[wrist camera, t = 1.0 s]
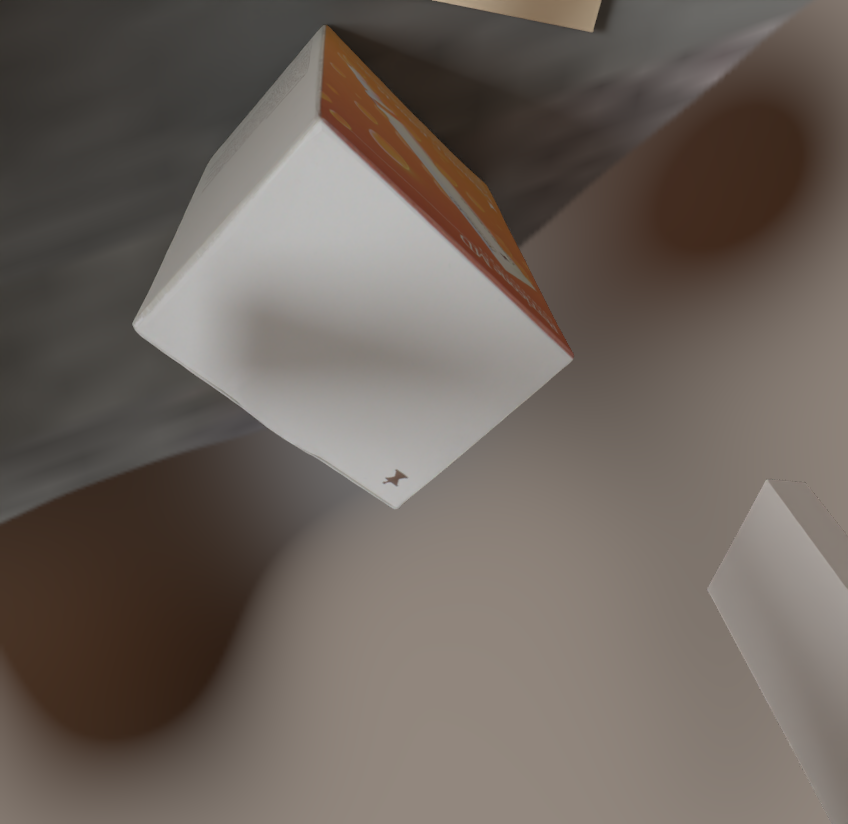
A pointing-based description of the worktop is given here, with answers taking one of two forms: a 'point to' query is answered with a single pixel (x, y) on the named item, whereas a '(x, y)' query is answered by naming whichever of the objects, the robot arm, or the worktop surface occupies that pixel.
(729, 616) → the robot arm
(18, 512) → the worktop surface
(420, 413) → the small box
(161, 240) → the worktop surface
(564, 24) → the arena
